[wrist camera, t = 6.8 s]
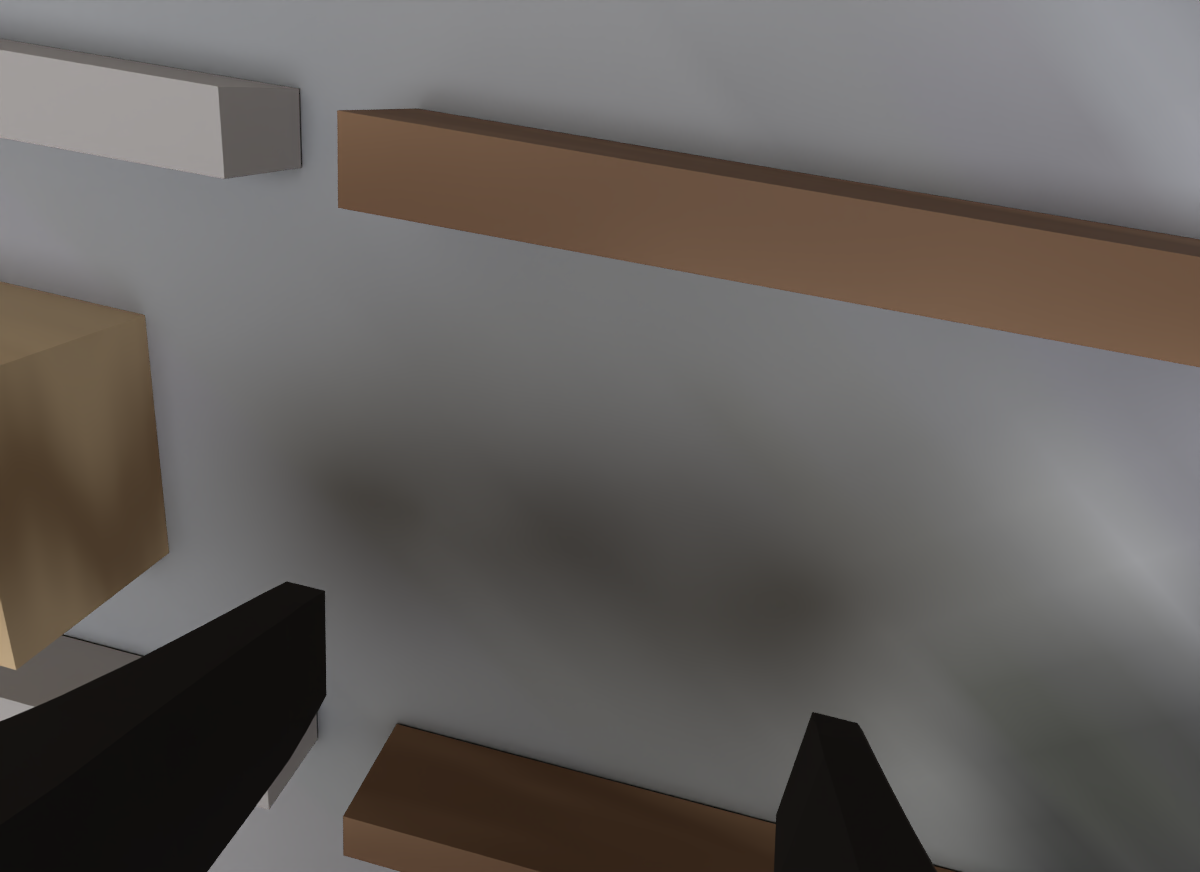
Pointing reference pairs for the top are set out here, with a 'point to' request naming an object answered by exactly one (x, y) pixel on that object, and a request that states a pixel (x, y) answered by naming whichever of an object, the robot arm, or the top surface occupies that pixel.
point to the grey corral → (154, 137)
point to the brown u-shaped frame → (733, 252)
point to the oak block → (72, 464)
